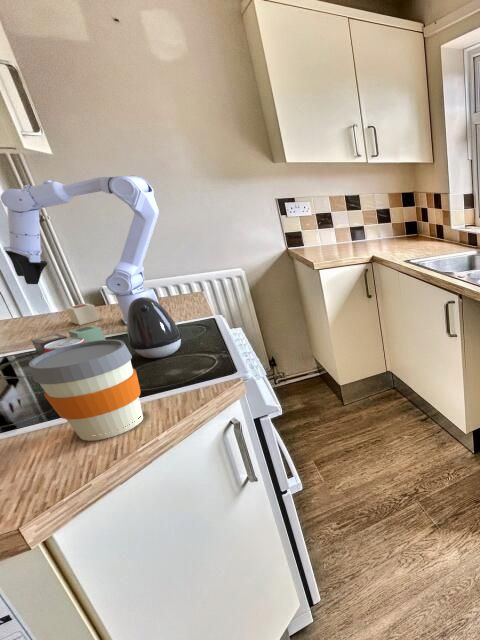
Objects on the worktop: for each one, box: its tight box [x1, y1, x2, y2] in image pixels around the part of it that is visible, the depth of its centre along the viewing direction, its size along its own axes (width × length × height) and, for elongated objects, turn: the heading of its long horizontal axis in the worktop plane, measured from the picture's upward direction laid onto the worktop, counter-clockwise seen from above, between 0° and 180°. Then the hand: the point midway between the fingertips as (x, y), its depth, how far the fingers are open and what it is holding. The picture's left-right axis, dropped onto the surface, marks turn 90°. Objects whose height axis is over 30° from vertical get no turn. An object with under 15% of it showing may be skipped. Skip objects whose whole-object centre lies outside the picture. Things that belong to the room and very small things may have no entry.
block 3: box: [67, 324, 107, 342], centre depth 113 cm, size 5×5×5 cm
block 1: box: [31, 333, 68, 356], centre depth 107 cm, size 5×5×5 cm
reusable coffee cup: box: [28, 339, 144, 442], centre depth 75 cm, size 13×12×15 cm
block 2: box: [65, 302, 101, 326], centre depth 132 cm, size 5×5×5 cm
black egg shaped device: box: [126, 297, 182, 359], centre depth 105 cm, size 10×10×15 cm
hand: (27, 279), depth 122 cm, fingers open, 7 cm apart
